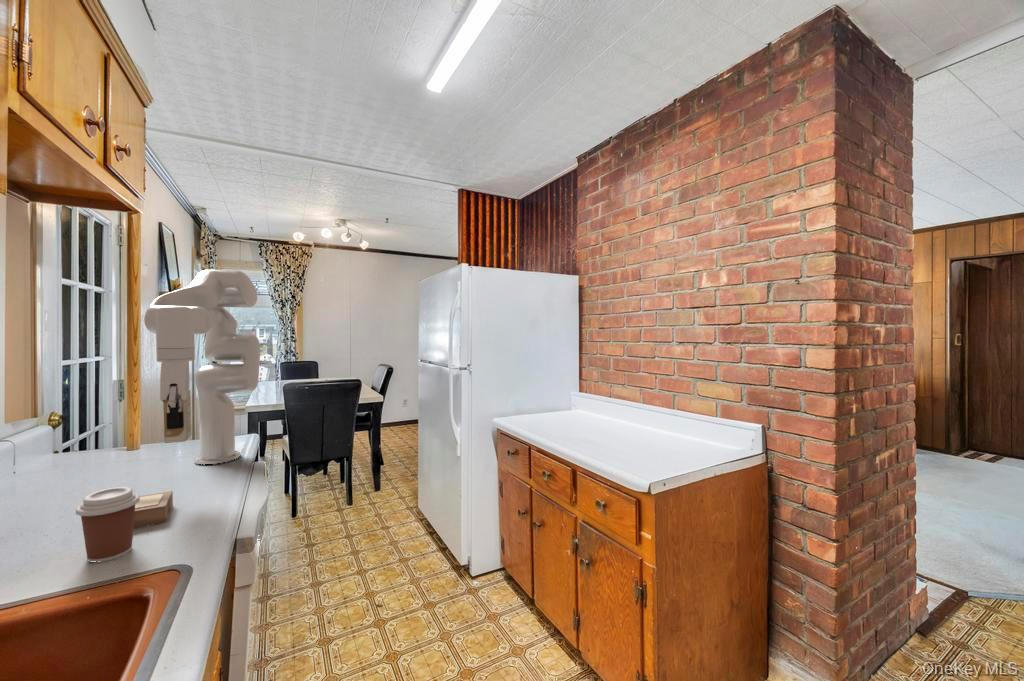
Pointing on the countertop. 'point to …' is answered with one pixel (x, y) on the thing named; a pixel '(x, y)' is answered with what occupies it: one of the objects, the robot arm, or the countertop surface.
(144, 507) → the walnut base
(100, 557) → the coffee cup
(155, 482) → the countertop surface
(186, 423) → the skincare box
